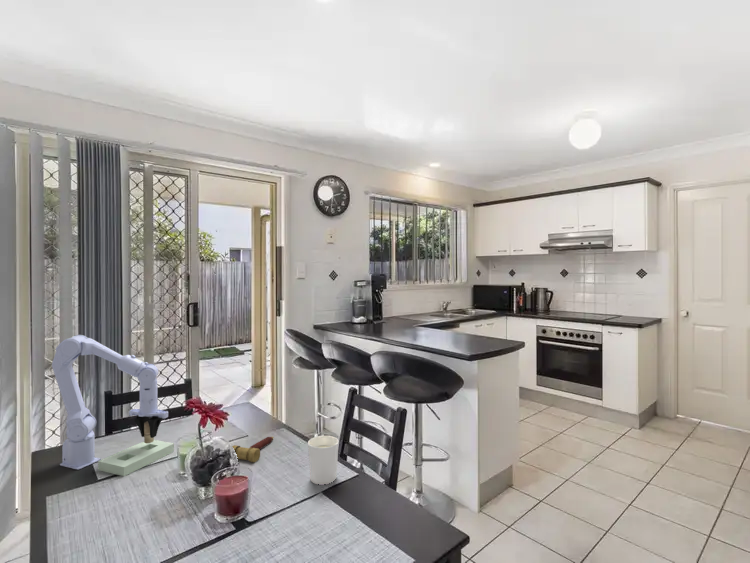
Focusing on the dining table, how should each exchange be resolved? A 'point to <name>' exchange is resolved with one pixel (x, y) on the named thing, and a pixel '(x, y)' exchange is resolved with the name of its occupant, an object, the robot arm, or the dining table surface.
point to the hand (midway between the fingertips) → (148, 436)
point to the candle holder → (323, 459)
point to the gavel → (251, 450)
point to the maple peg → (147, 433)
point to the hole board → (135, 457)
